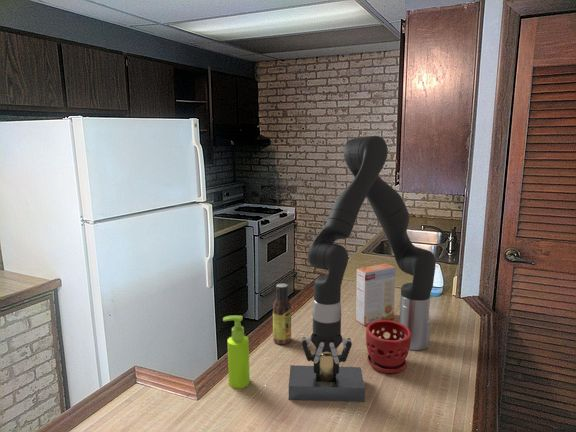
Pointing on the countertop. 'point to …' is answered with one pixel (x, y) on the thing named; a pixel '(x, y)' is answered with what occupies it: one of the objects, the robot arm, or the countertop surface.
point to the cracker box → (375, 293)
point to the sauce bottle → (281, 316)
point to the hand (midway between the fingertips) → (326, 373)
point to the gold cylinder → (326, 367)
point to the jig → (326, 385)
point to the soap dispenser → (238, 354)
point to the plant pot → (387, 346)
